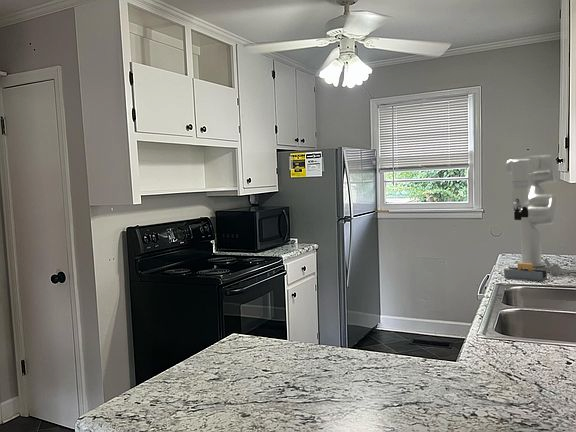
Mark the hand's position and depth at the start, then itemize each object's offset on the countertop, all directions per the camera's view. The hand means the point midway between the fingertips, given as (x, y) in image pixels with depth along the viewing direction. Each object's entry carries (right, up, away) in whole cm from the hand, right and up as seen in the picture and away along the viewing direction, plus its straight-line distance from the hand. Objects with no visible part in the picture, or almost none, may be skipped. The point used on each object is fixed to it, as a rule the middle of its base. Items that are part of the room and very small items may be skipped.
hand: (521, 218), depth 243 cm
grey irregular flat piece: (+11, -27, -7) cm, 31 cm away
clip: (-4, -27, -12) cm, 30 cm away
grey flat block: (-4, -28, -12) cm, 31 cm away
